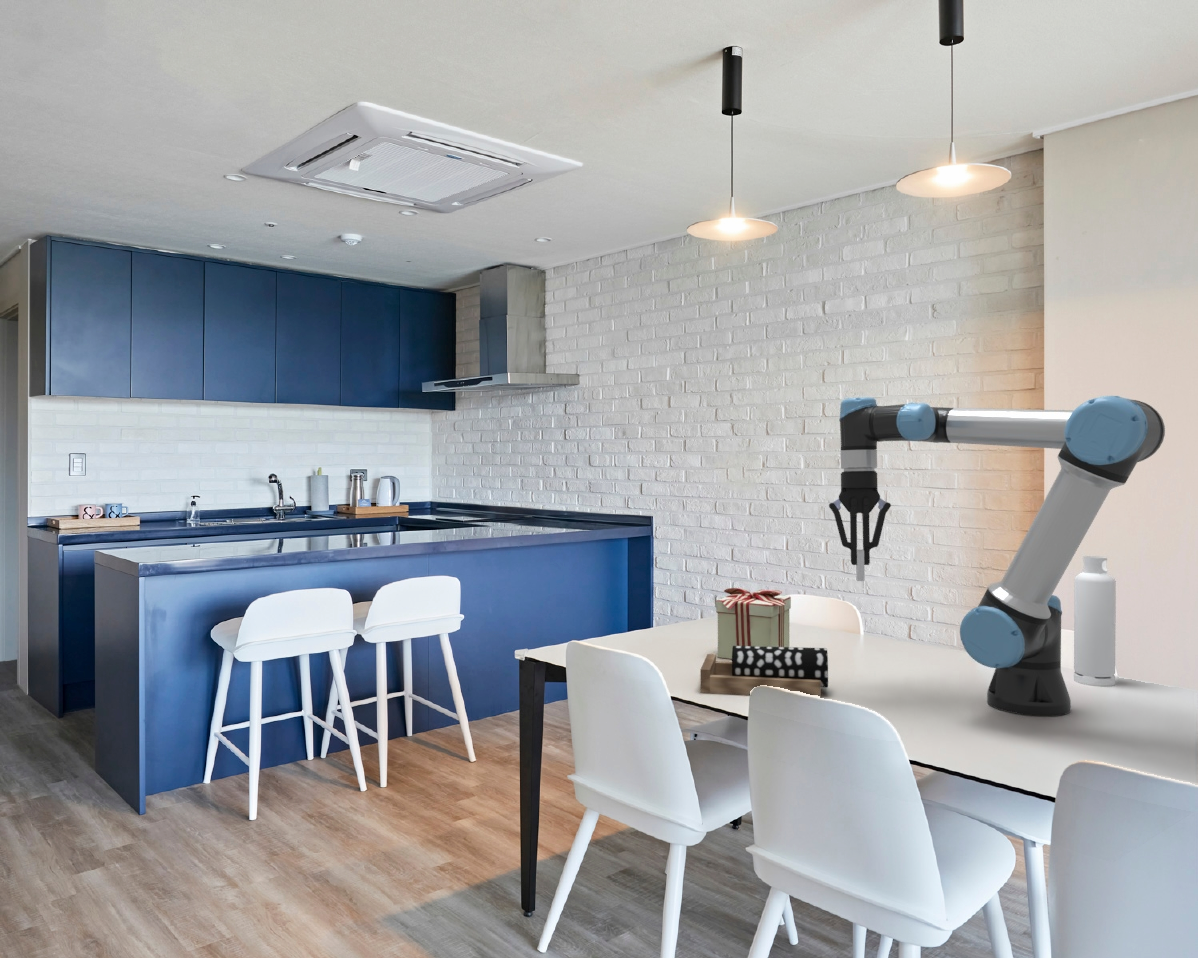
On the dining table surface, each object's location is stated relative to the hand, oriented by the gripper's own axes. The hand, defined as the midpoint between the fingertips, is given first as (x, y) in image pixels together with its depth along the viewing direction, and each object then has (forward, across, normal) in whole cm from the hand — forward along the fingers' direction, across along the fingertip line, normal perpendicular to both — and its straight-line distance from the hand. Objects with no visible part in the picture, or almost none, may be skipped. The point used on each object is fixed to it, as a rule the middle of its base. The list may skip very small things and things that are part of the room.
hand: (860, 580), depth 190 cm
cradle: (+24, +21, 0) cm, 32 cm away
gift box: (+24, +24, -31) cm, 46 cm away
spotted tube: (+19, +7, +2) cm, 20 cm away
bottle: (+25, -52, -20) cm, 61 cm away
